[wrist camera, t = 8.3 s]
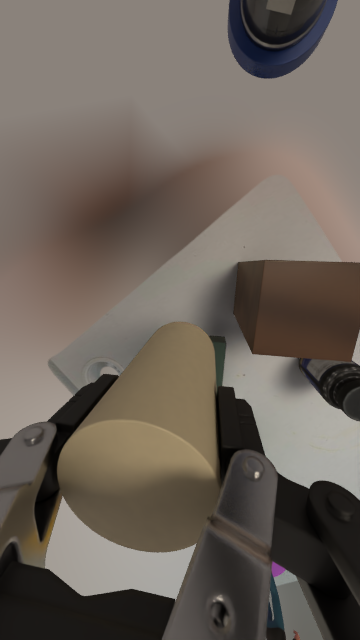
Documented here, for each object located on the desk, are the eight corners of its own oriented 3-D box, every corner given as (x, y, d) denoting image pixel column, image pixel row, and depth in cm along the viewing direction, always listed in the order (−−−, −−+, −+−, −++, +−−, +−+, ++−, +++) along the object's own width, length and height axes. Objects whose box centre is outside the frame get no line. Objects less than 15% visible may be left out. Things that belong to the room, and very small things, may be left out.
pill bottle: (339, 375, 34) (397, 426, 23) (299, 380, 35) (337, 430, 25) (337, 340, 33) (398, 376, 22) (295, 346, 34) (334, 383, 23)
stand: (238, 262, 32) (264, 260, 16) (294, 263, 31) (377, 263, 15) (233, 313, 34) (252, 354, 19) (285, 316, 33) (351, 362, 18)
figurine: (251, 569, 48) (275, 739, 31) (231, 541, 47) (243, 703, 29) (291, 561, 46) (340, 740, 29) (271, 531, 44) (309, 701, 27)
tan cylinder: (148, 319, 15) (45, 409, 6) (217, 323, 15) (230, 433, 5) (148, 380, 17) (65, 536, 7) (212, 386, 16) (215, 567, 6)
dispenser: (165, 332, 36) (159, 342, 31) (224, 336, 35) (227, 348, 30) (165, 383, 39) (158, 400, 34) (220, 389, 38) (221, 407, 33)
